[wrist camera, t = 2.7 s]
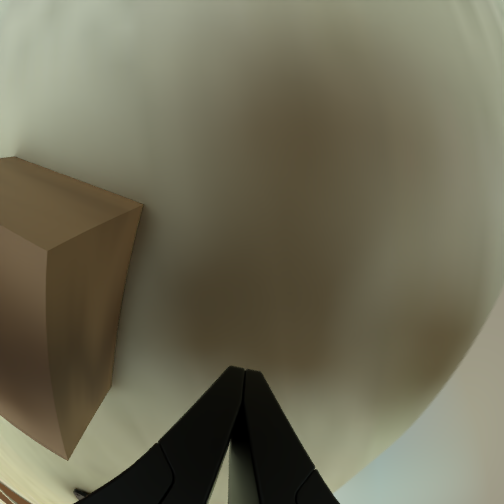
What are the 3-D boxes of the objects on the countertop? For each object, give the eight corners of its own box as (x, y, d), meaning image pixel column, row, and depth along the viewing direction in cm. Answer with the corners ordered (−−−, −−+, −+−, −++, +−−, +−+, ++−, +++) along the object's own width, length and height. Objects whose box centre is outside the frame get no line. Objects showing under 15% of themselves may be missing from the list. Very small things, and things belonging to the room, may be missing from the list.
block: (112, 383, 11) (67, 461, 7) (12, 324, 10) (-44, 374, 6) (146, 203, 8) (47, 250, 4) (17, 156, 8) (-77, 173, 4)
